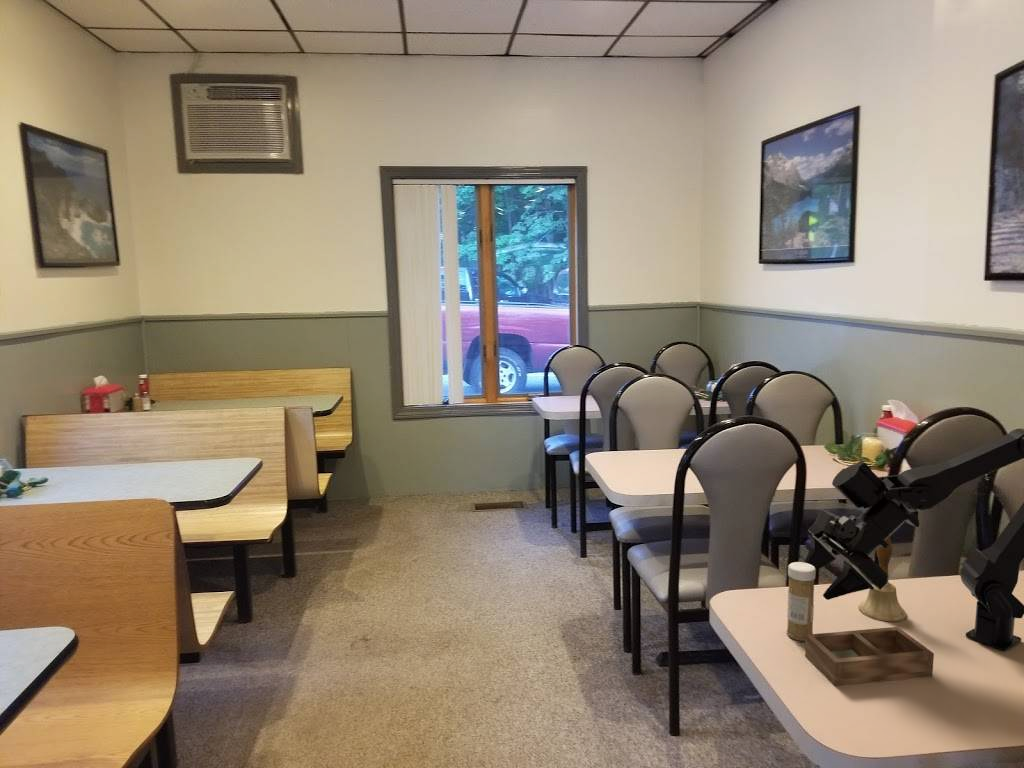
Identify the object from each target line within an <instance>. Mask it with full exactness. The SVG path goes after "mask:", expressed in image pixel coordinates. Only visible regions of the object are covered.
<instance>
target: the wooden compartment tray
mask: <svg viewBox="0 0 1024 768" xmlns="http://www.w3.org/2000/svg"><path fill="white" fill-rule="evenodd" d="M804 651H805V652H804V657H805V658H807V660H808V661H809V662H810V663H811V664H812V665H813V666H814V667H815V668H816V669H817V670H818V671H819V672H820V673H821V674H822V675H823V676H824V677H825V678H826V679H827V680H828V681H829V682H830V683H831V684H832V685H833V686H836V687H837V686H843V685H846V686H847V685H855V684H857V685H858V684H865V683H867V684H868V683H876V682H885V681H886V682H887V681H897V680H908V679H918V678H919V679H920V678H927V677H929V678H931V677H933V672H934V658H935V654H934V652H932V651H931V649H928V648H927V647H926V646H925V645H923V644H922V643H920V642H919V641H918V640H916V639H915V638H914V637H913V636H911V635H910V634H909V633H907V632H906V631H904V630H903V629H902V628H901V627H899V626H891V627H890V626H889V627H880V628H869V629H857V630H846V631H844V630H843V631H834V632H823V633H813V634H809V635H806V641H805V650H804Z"/></svg>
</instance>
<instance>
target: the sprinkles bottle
mask: <svg viewBox="0 0 1024 768" xmlns="http://www.w3.org/2000/svg"><path fill="white" fill-rule="evenodd" d="M787 567H788V568H787V575H788V591H787V628H786V635H787V636H788V637H790V639H793V640H795V641H800V642H806V635H809V634H814V632H813V631H814V630H813V624H814V612H815V611H814V610H815V609H814V608H815V607H814V593H815V581H816V580H815V579H816V575H817V573H816V572H817V571H816V569H815V567H814V566H812V565H811V564H808V563H804V562H803V561H795V562H791V563H790V564H788V566H787Z"/></svg>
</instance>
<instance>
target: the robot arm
mask: <svg viewBox="0 0 1024 768" xmlns="http://www.w3.org/2000/svg"><path fill="white" fill-rule="evenodd" d="M1022 459H1024V428H1016V429H1013V430H1011V431H1010V432H1008V433H1007V434H1005V435H1002V436H1000V437H998V438H995V439H994V440H991V441H989V442H987V443H985V444H982V445H980V446H978V447H976V448H974V449H971V450H969V451H966V452H964V453H962V454H960V455H958V456H955V457H953V458H951V459H949V460H946V461H944V462H940V463H937V464H936V463H935V464H927V465H926V464H925V465H921V466H916V467H914V468H910V469H905V470H903V471H902V472H900V473H899V474H897V475H895V474H894V475H888V476H887V475H885V476H878V475H877V474H876V473H874V471H873V470H872V469H871V467H870V466H869V465H868V464H867V463H866V462H865V461H863V460H861V459H860V460H859V461H858V462H857V463H853V464H852V465H849V466H847V467H846V468H842V469H841V470H840V471H839V472H838V473H837V474H836V475H835V476H834V478H833V480H832V482H831V483H832V484H831V485H832V486H833V487H834V488H835V489H836V490H837V491H838V492H839V493H840V494H841V495H842V496H843V497H844V498H845V499H847V501H848V502H849V503H851V504H852V505H853V506H854V508H857V509H859V508H863V509H864V510H865V511H863V512H862V513H861V514H860V515H859V516H857V515H854V514H853V515H850V516H849V517H848V516H845V515H843V516H840V515H837V514H835V513H832V512H831V511H828V510H826V509H823V508H821V509H820V511H819V513H818V515H817V517H816V519H815V521H814V523H812V525H811V526H810V527H808V528H807V531H808V532H809V533H808V538H809V541H810V542H809V543H810V548H809V551H808V553H807V555H806V558H805V559H804V562H803V563H808V564H811V565H812V566H814V567H815V569H816V572H817V571H818V570H820V569H822V568H823V567H825V566H827V565H828V564H830V563H832V562H833V561H835V560H836V559H837V558H836V557H835V556H838V555H841V556H842V557H843V558H845V559H844V560H843V565H842V571H841V573H839V575H838V576H837V577H836V578H835V580H834V581H832V583H831V584H830V585H829V586H828V587H827V588H826V590H825V591H824V593H823V594H822V597H823V598H824V599H826V600H827V601H829V600H832V599H835V598H838V597H842V596H845V595H849V594H853V593H856V592H861V591H865V590H869V589H871V590H873V589H874V587H873V586H872V585H874V586H876V587H877V588H878V589H879V590H881V589H882V588H883V587H884V586H885V585H886V584H887V583H888V582H889V573H888V574H887V573H886V572H885V571H884V570H883V569H882V568H881V567H880V566H879V563H877V562H876V561H875V560H874V559H873V558H872V557H870V556H871V555H872V554H873V553H874V552H875V551H877V548H878V547H879V546H881V547H882V548H884V549H885V548H886V547H887V546H888V544H887V543H886V542H885V540H886V539H887V538H890V537H891V536H892V535H893V534H894V533H895V532H896V531H897V530H898V529H899V528H901V526H902V525H903V524H904V523H906V524H908V525H911V526H913V527H915V528H919V527H920V519H919V512H920V511H927V510H931V509H933V508H935V507H936V506H937V505H940V503H942V502H944V501H945V500H947V499H948V498H950V497H951V495H952V494H953V493H954V492H955V491H956V490H957V489H958V488H961V486H963V485H965V484H968V483H970V482H973V481H975V480H977V479H979V478H981V477H984V476H986V475H988V474H991V473H993V472H995V471H998V470H1000V469H1003V468H1004V467H1007V466H1010V465H1011V464H1015V463H1017V462H1019V461H1021V460H1022ZM886 492H887V493H888V494H889V495H890V496H891V497H892V499H891V498H890V496H888V495H887V493H886ZM904 503H907V504H908V506H910V507H912V508H911V509H910V508H908V507H907V506H906V505H905V504H904ZM918 510H920V511H918ZM846 560H847V561H849V562H847V561H846ZM1023 560H1024V502H1022V504H1021V505H1020V507H1019V508H1018V509H1017V511H1016V512H1015V514H1014V515H1013V516H1012V518H1011V519H1010V520H1009V522H1008V523H1007V525H1006V526H1005V528H1004V529H1003V530H1002V532H1000V534H999V536H998V537H997V538H996V540H995V541H994V542H993V544H992V545H990V547H987V548H985V549H983V550H981V551H980V550H979V549H978V548H977V547H972V549H971V550H970V552H969V554H968V556H967V558H966V559H965V560H964V561H962V562H960V563H959V564H960V566H961V569H960V574H959V577H960V579H961V582H962V584H963V585H964V586H965V587H966V588H967V589H968V591H969V592H970V593H971V595H972V597H974V598H975V599H976V600H977V602H976V610H975V622H974V628H972V629H971V630H969V631H967V632H965V637H967V638H968V639H972V640H974V641H976V642H980V643H981V644H985V645H988V646H990V647H991V648H995V649H997V650H1000V651H1004V652H1006V651H1008V650H1009V649H1011V648H1012V647H1014V646H1016V645H1017V644H1019V643H1021V642H1022V638H1021V637H1020V636H1017V635H1014V632H1015V631H1014V630H1015V621H1016V619H1022V618H1023V617H1024V604H1023V602H1022V601H1020V600H1019V599H1018V598H1017V597H1016V596H1015V595H1014V594H1013V592H1014V591H1015V588H1016V587H1017V584H1018V581H1019V574H1020V566H1021V564H1022V562H1023ZM851 564H852V565H851Z"/></svg>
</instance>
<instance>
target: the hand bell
mask: <svg viewBox="0 0 1024 768" xmlns="http://www.w3.org/2000/svg"><path fill="white" fill-rule="evenodd" d="M885 542H886V543H887V544H888V546H887V547H886V548H885V549H884V548H882V547H881V546H879V547H878V548H877V549H876V555H877V559H878V565H879V566H880V567H881V568H882V569H883V570H884V571H885V572H886V573H887V574H888V575H889V564H890V561H891V559H892V558H891V557H892V553H893V547H892V545H893V544H892V541H891V539H890V537H889V538H887V539H886V540H885ZM872 586H873V587H874V589H873V590H871V589H868V590H869V591H868V593H867V596H866V598H865V599H864V600H862V601H861V602H860V603H859V604H858V611H859V612H860V613H861V614H862V615H865V617H868V618H871V619H874V620H877V621H881V622H889V623H890V622H891V623H892V622H899V621H903V620H904V619H906V618H907V612H906V610H905V609H904V608H903V607H902V606H901V604H900V603H899V600H898V595H897V588H896V586H895V585H894V584H893V583H890V582H889V581H888V583H887V584H886V585H885V586H884V587H883V588H882V589H881V590H879V589H878V588H877V587H876V586H874V585H872Z"/></svg>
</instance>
